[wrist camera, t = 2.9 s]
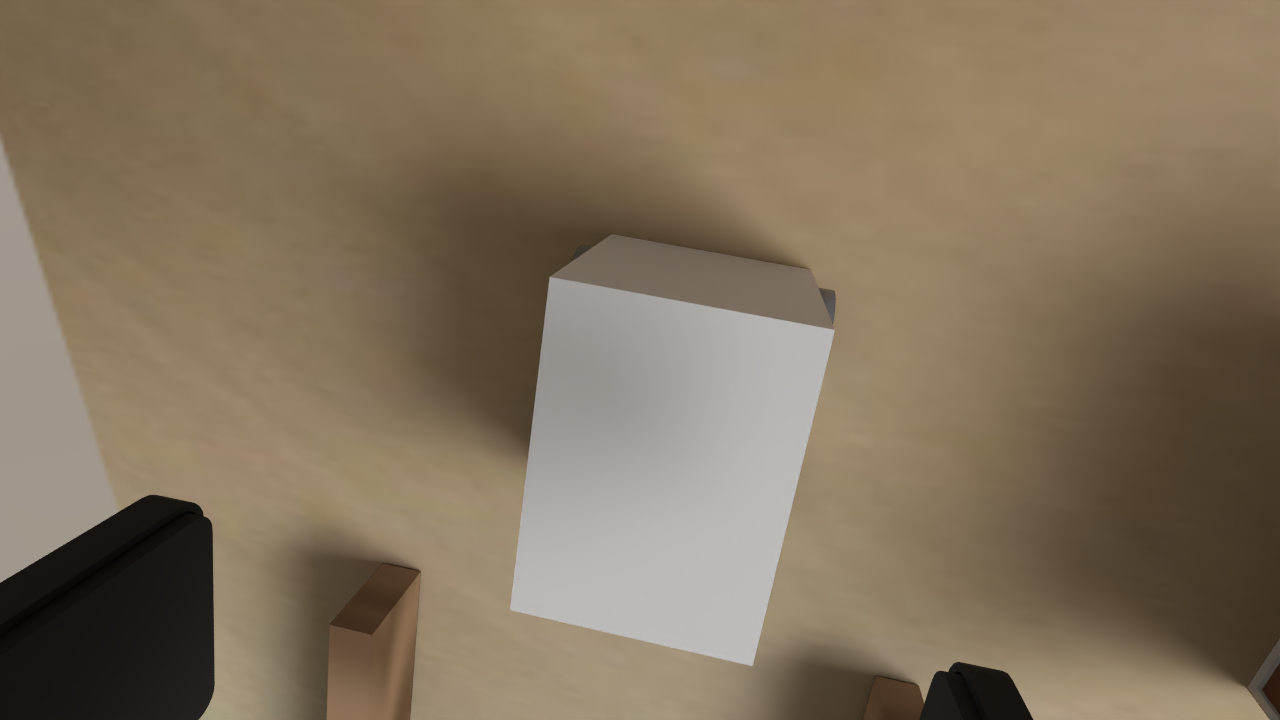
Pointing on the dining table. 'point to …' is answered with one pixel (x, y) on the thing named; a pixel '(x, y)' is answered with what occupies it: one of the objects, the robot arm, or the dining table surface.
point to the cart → (668, 442)
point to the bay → (385, 650)
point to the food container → (1268, 684)
